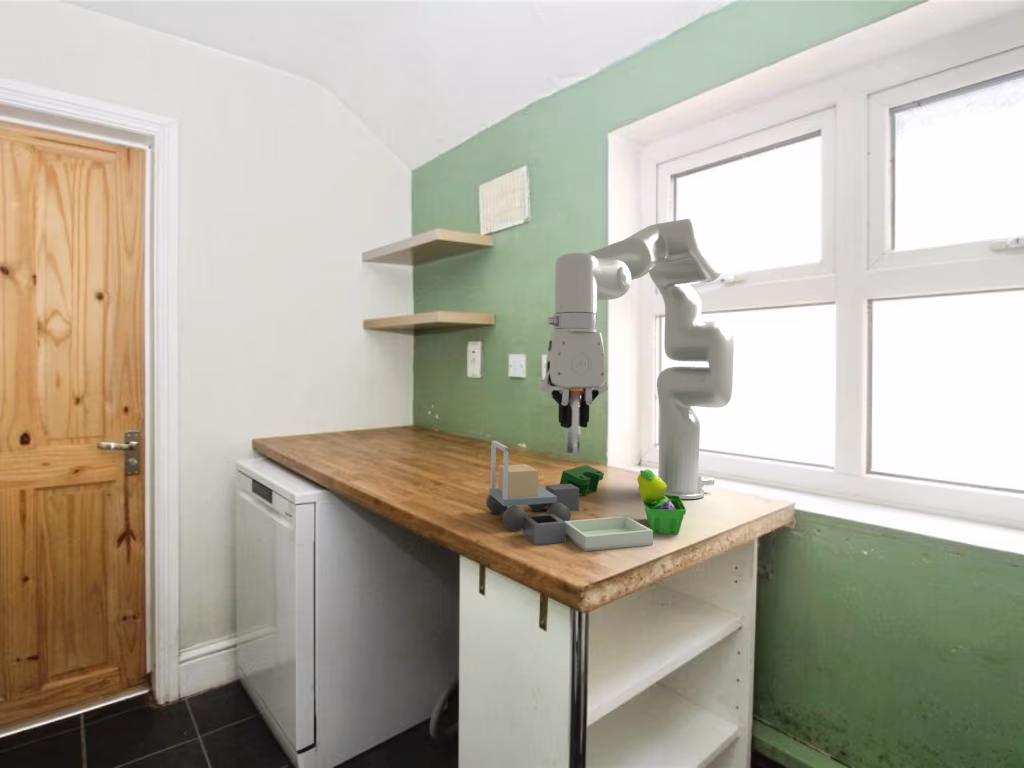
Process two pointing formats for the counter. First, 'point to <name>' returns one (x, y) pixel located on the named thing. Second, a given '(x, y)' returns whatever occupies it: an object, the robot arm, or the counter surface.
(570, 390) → the pin
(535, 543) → the bracket
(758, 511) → the counter surface
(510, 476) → the trolley
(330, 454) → the counter surface
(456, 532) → the counter surface
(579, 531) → the tray
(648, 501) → the fruit basket
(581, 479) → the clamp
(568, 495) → the grey rectangular block
